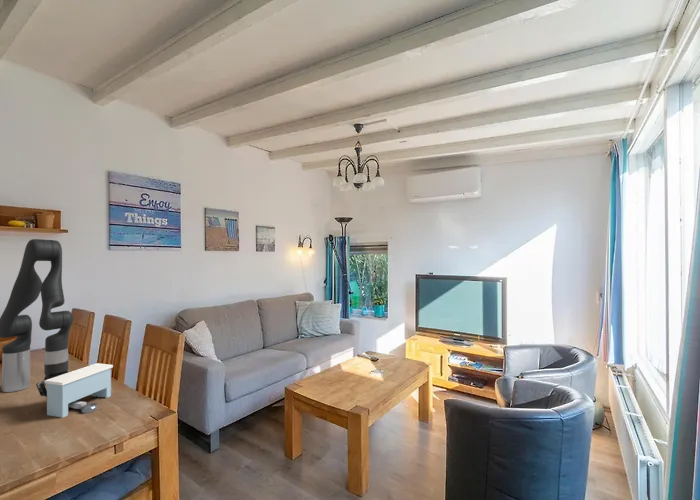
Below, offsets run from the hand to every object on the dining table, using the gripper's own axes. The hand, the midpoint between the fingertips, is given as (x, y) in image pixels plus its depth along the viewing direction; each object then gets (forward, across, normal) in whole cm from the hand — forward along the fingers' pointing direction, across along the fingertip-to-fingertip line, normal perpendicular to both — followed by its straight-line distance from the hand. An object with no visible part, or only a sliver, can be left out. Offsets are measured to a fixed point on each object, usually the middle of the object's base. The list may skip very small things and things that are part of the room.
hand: (56, 402), depth 143 cm
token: (+2, 0, +17) cm, 17 cm away
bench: (+1, -3, +9) cm, 10 cm away
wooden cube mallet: (+1, 0, +6) cm, 6 cm away
